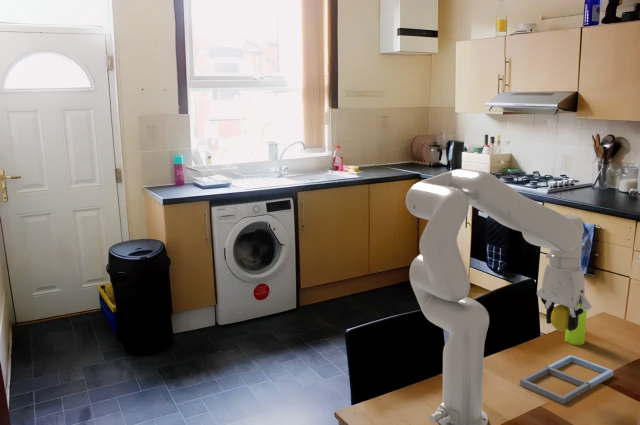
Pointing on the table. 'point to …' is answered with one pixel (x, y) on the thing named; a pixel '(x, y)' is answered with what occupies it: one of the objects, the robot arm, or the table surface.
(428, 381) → the table surface
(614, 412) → the table surface
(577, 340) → the soap dispenser
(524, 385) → the grey divided frame
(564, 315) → the lemon
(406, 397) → the table surface
